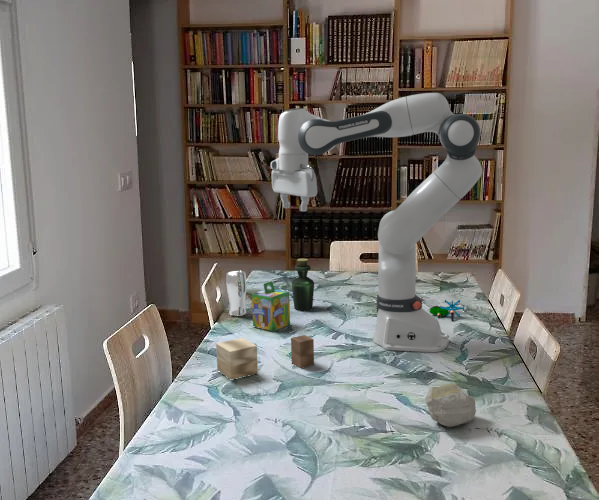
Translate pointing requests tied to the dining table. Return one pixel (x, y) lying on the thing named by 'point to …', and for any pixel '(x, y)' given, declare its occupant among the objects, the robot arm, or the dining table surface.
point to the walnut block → (302, 351)
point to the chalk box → (270, 308)
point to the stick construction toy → (446, 310)
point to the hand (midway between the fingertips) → (294, 209)
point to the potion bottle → (302, 287)
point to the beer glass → (236, 291)
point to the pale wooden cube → (237, 358)
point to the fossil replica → (450, 405)
